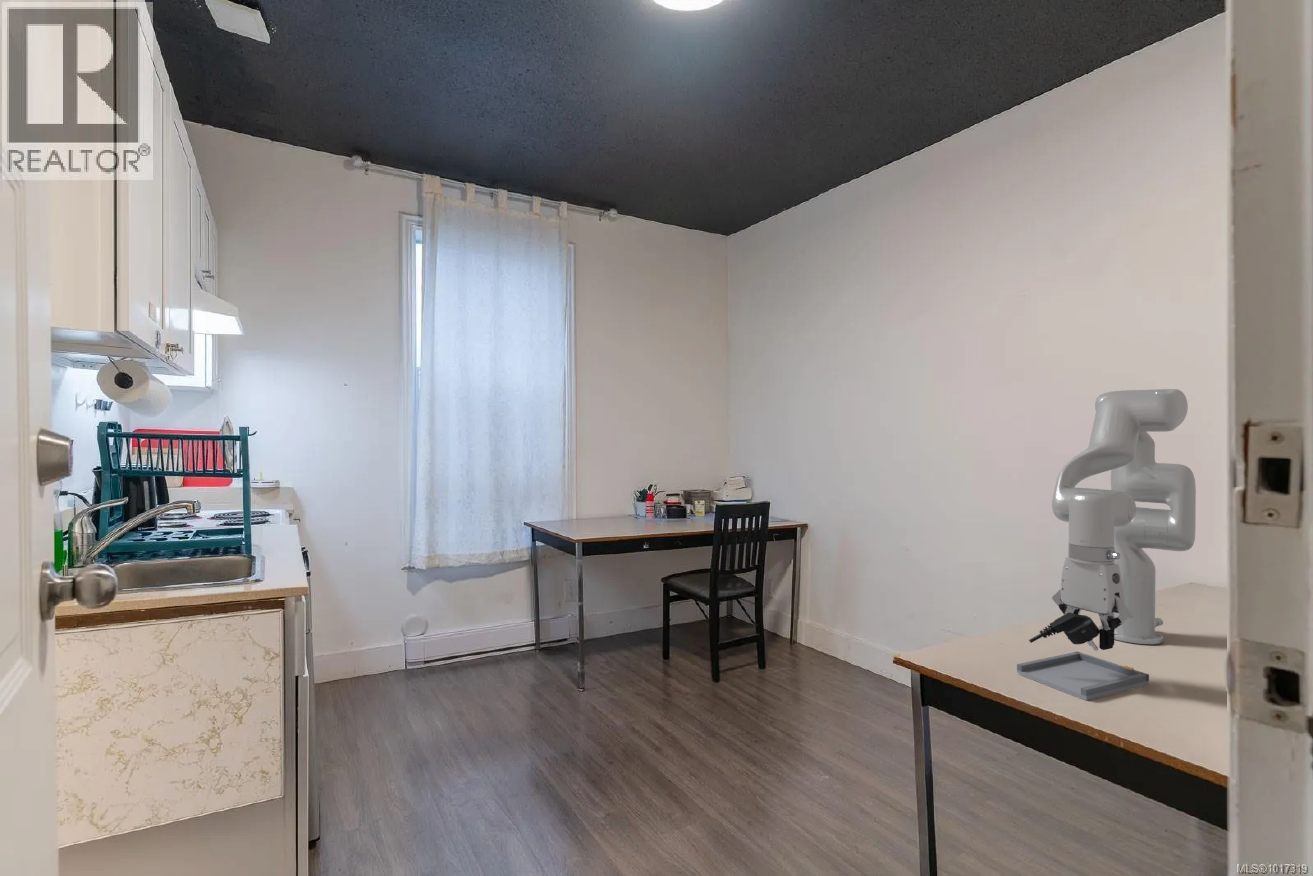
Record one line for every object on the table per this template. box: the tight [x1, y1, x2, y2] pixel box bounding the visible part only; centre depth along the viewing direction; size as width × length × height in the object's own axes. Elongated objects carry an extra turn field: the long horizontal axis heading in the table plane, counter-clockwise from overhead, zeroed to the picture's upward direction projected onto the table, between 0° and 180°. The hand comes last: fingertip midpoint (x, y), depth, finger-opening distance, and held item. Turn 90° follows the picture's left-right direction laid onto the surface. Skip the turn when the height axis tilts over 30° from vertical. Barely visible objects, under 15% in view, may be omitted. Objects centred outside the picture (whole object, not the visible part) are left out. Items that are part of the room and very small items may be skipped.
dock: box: [1016, 651, 1150, 702], centre depth 126 cm, size 19×14×2 cm
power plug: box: [1028, 613, 1100, 651], centre depth 126 cm, size 6×8×12 cm
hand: (1090, 642), depth 126 cm, fingers closed on power plug, 5 cm apart
